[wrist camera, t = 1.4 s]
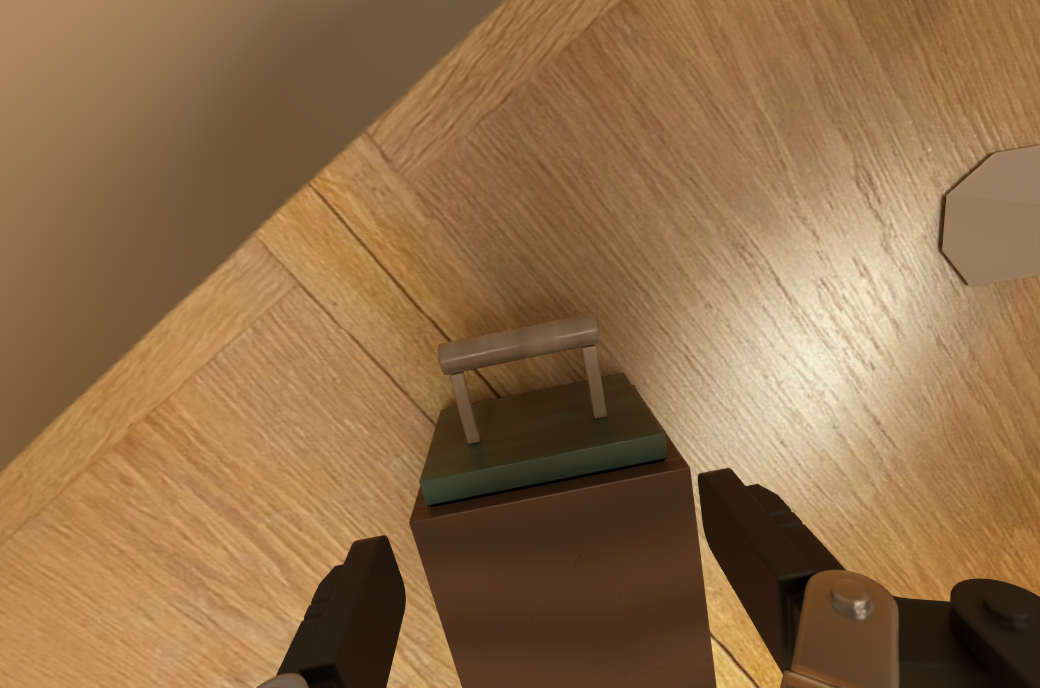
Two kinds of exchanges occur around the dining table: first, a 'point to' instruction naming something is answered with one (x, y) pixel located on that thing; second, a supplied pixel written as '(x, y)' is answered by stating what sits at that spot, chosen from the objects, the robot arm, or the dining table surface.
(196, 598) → the dining table surface
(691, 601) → the cabinet
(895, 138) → the dining table surface
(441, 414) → the drawer
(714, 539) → the robot arm
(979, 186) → the flask
